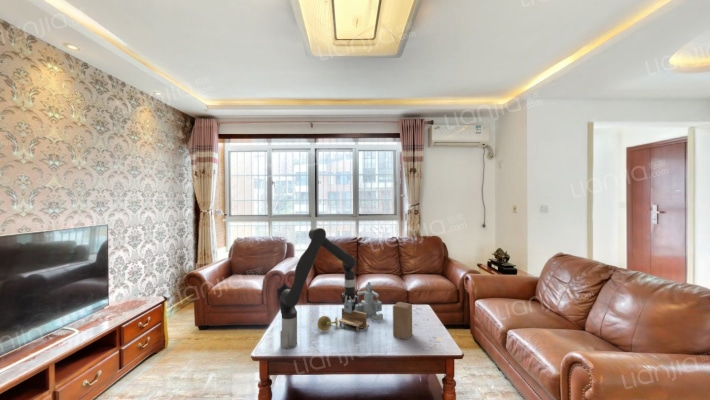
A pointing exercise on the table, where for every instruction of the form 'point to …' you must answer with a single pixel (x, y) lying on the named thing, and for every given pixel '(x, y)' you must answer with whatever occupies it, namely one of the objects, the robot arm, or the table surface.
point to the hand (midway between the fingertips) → (349, 309)
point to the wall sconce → (325, 323)
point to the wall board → (354, 319)
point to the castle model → (370, 303)
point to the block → (402, 320)
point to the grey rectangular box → (348, 307)
